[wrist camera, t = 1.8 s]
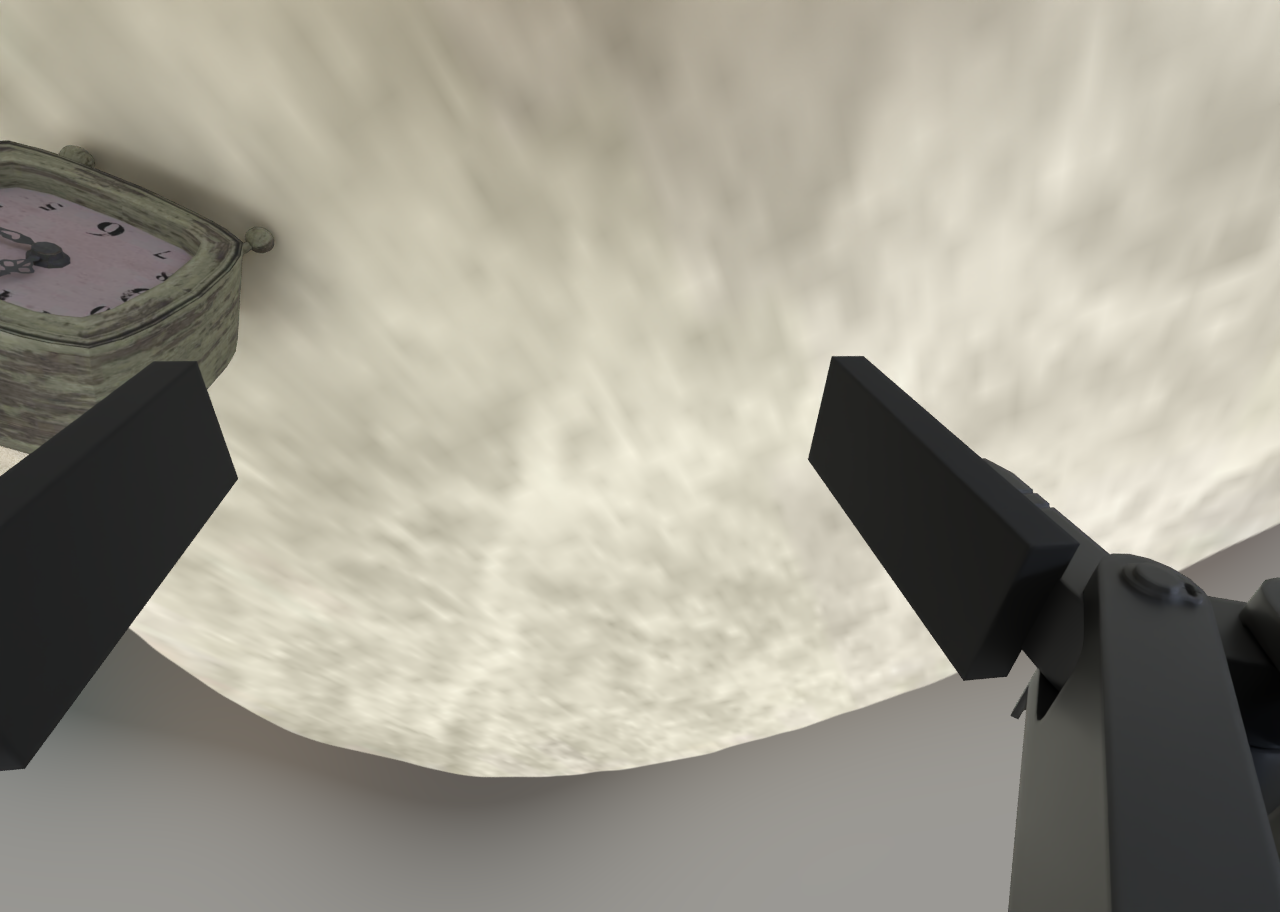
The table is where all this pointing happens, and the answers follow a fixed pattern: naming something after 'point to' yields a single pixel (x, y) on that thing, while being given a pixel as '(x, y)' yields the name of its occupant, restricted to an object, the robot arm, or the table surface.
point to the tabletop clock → (102, 288)
